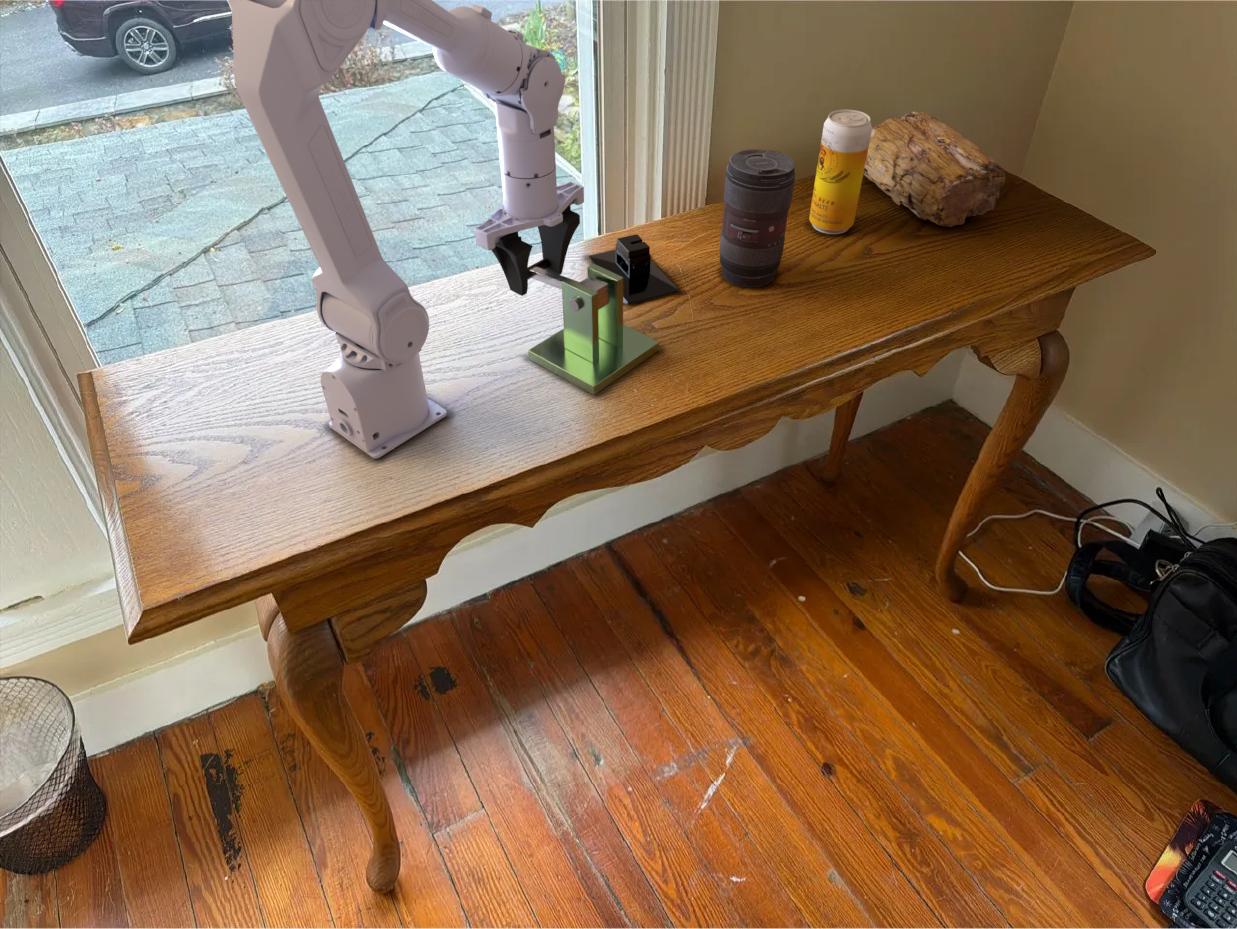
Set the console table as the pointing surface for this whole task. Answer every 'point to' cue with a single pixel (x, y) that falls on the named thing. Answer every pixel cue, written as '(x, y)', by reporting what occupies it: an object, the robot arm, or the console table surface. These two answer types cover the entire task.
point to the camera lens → (755, 215)
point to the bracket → (593, 336)
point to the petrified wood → (932, 169)
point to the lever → (553, 279)
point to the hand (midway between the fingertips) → (536, 281)
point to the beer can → (840, 170)
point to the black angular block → (635, 270)
